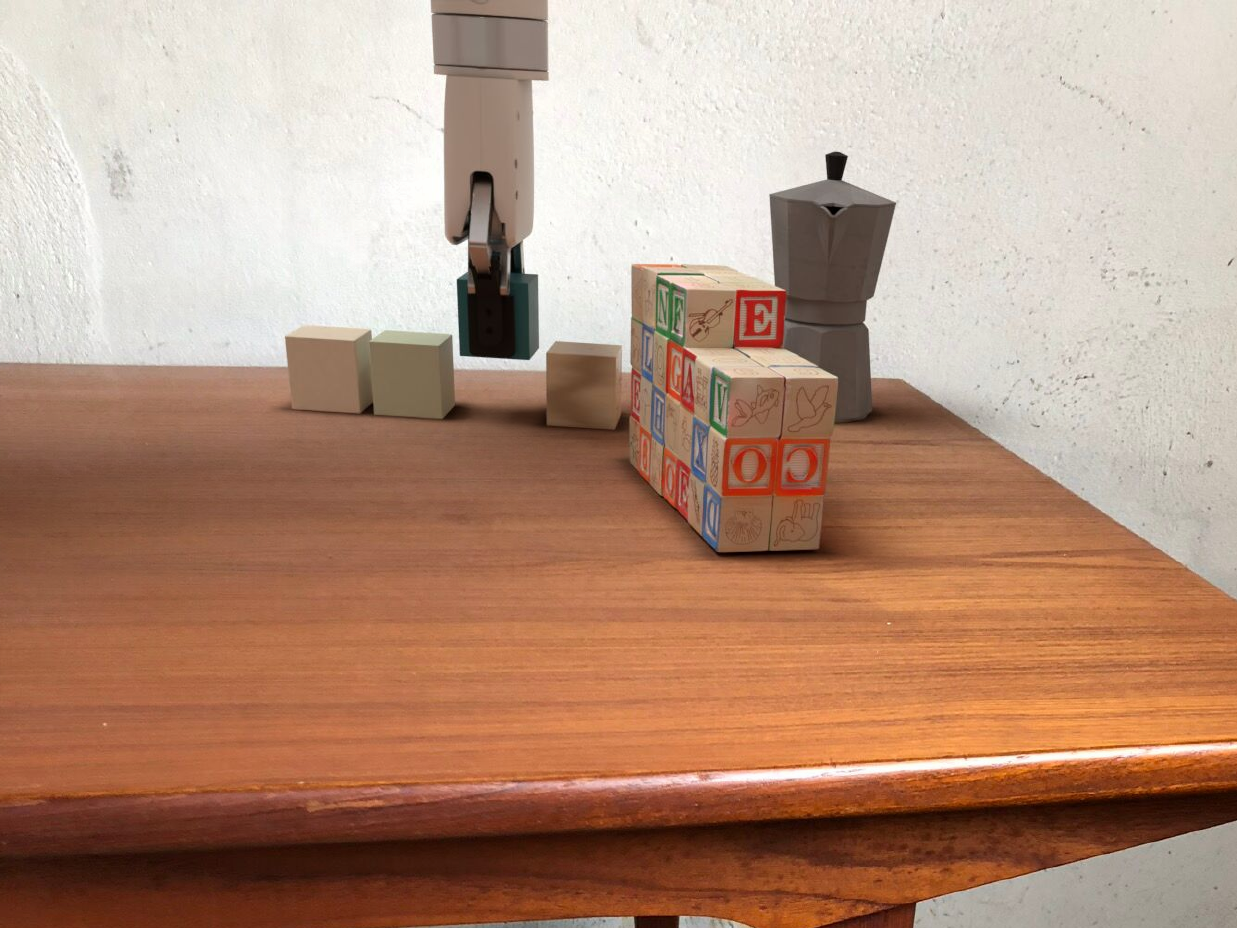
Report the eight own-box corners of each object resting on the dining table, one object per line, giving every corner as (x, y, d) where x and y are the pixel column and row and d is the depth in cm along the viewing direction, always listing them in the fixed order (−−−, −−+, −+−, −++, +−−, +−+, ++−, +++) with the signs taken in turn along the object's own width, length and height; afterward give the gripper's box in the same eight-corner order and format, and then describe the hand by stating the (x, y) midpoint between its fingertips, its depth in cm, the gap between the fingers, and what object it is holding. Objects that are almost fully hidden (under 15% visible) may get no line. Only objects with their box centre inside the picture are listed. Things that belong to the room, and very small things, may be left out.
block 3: (546, 425, 101) (546, 352, 99) (555, 411, 105) (554, 340, 103) (615, 430, 101) (616, 356, 99) (621, 416, 105) (622, 345, 103)
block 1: (291, 409, 101) (284, 335, 99) (310, 396, 105) (303, 324, 103) (360, 414, 101) (354, 340, 99) (376, 400, 105) (371, 329, 103)
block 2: (374, 415, 101) (368, 341, 99) (389, 401, 105) (384, 330, 103) (442, 419, 101) (439, 345, 99) (455, 405, 105) (452, 334, 103)
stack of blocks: (823, 553, 78) (846, 314, 71) (716, 556, 76) (729, 312, 70) (715, 460, 95) (726, 261, 88) (626, 461, 93) (630, 258, 87)
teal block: (459, 356, 99) (456, 279, 96) (472, 344, 103) (469, 270, 100) (529, 360, 99) (528, 283, 96) (539, 348, 103) (538, 274, 100)
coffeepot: (876, 432, 105) (906, 160, 96) (752, 424, 105) (770, 151, 96) (868, 393, 118) (894, 150, 109) (758, 386, 118) (774, 142, 109)
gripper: (457, 50, 98) (468, 327, 108) (405, 47, 84) (423, 367, 94) (563, 56, 98) (564, 333, 108) (529, 54, 84) (534, 374, 94)
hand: (499, 346), depth 101 cm, fingers closed on teal block, 5 cm apart
